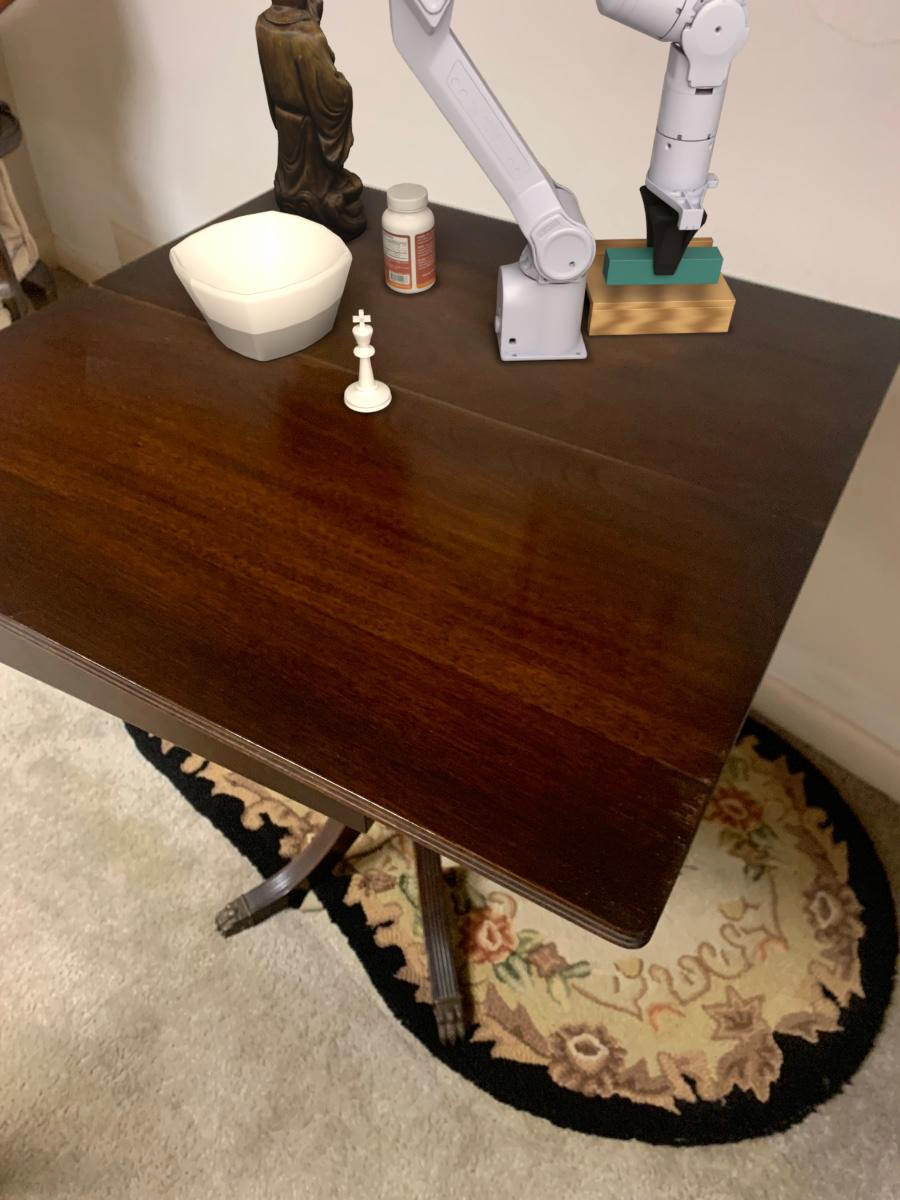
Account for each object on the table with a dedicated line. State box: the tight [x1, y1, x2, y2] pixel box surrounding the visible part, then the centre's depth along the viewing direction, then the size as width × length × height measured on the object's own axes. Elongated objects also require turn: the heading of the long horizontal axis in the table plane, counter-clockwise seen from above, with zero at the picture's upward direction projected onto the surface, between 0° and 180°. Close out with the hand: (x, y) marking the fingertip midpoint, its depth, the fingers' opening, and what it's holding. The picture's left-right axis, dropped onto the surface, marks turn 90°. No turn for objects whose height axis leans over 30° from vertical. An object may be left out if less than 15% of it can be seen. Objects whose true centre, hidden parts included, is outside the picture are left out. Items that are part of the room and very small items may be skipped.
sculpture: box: [254, 0, 368, 243], centre depth 108 cm, size 12×13×30 cm
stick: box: [602, 245, 724, 285], centre depth 94 cm, size 12×3×3 cm, turn 92°
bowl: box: [168, 210, 353, 362], centre depth 98 cm, size 18×18×9 cm
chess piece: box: [343, 309, 392, 413], centre depth 88 cm, size 5×5×10 cm
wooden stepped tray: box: [585, 236, 737, 336], centre depth 103 cm, size 16×12×6 cm
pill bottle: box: [381, 182, 437, 295], centre depth 104 cm, size 6×6×11 cm
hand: (660, 266), depth 94 cm, fingers closed on stick, 3 cm apart
